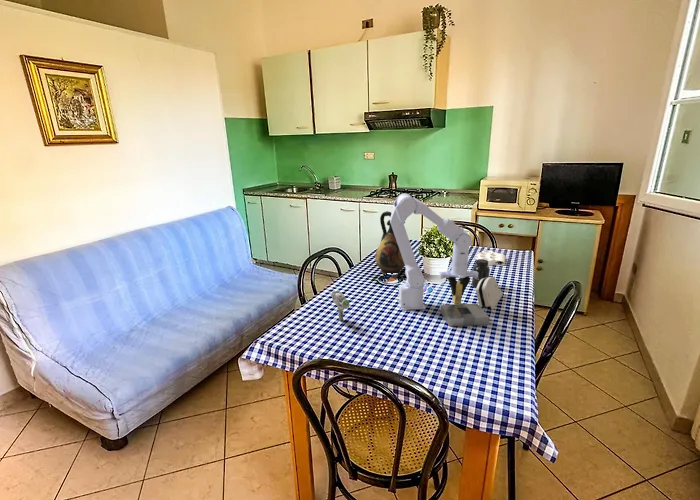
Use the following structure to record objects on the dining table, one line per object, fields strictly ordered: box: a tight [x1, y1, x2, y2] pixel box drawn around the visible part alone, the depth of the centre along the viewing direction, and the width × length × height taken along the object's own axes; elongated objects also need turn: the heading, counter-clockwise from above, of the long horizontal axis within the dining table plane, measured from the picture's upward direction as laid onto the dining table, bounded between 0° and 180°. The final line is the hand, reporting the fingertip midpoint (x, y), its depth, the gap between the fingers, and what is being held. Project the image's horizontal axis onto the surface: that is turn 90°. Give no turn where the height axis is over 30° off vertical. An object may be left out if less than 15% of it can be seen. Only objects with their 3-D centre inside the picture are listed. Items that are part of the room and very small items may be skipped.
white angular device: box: [475, 276, 504, 310], centre depth 147 cm, size 17×5×10 cm, turn 145°
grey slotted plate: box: [440, 302, 490, 327], centre depth 134 cm, size 14×11×3 cm
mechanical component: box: [331, 290, 350, 322], centre depth 133 cm, size 3×10×10 cm, turn 27°
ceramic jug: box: [374, 210, 406, 275], centre depth 176 cm, size 17×15×30 cm
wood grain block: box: [451, 280, 463, 304], centre depth 143 cm, size 2×3×8 cm
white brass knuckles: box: [475, 249, 506, 267], centre depth 193 cm, size 3×18×15 cm
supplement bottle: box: [471, 259, 491, 289], centre depth 160 cm, size 7×7×12 cm
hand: (457, 294), depth 143 cm, fingers closed on wood grain block, 2 cm apart
